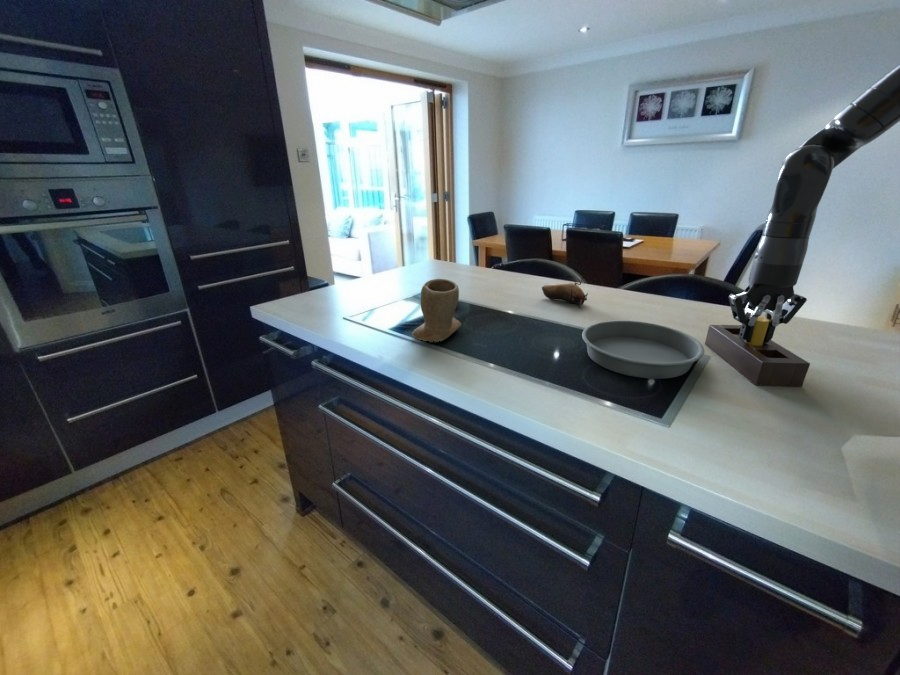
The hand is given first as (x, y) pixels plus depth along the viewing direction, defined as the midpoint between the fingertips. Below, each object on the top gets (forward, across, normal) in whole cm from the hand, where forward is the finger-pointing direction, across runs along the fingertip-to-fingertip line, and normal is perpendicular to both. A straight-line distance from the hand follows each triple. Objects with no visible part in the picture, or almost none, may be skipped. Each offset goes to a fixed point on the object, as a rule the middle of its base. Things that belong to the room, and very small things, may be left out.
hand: (754, 340), depth 82 cm
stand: (+5, 0, 0) cm, 5 cm away
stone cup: (+5, -69, +13) cm, 70 cm away
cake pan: (+5, -22, +2) cm, 23 cm away
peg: (+5, 0, 0) cm, 5 cm away
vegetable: (+5, -33, +43) cm, 55 cm away
